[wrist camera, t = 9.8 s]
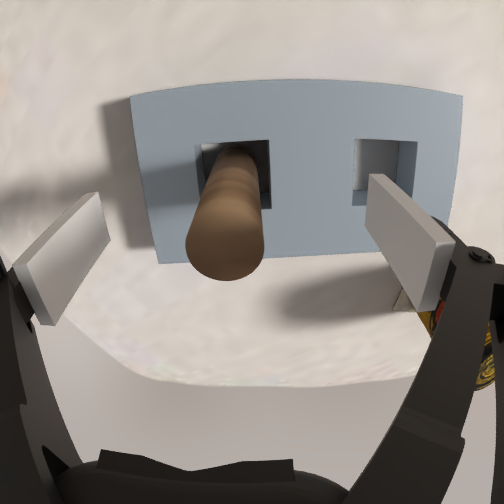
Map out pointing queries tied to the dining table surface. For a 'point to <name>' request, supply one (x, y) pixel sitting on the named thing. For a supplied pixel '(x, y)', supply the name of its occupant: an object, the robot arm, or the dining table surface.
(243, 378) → the dining table surface
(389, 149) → the dining table surface
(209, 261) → the peg
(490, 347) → the condiment
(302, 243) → the hole block
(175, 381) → the dining table surface
